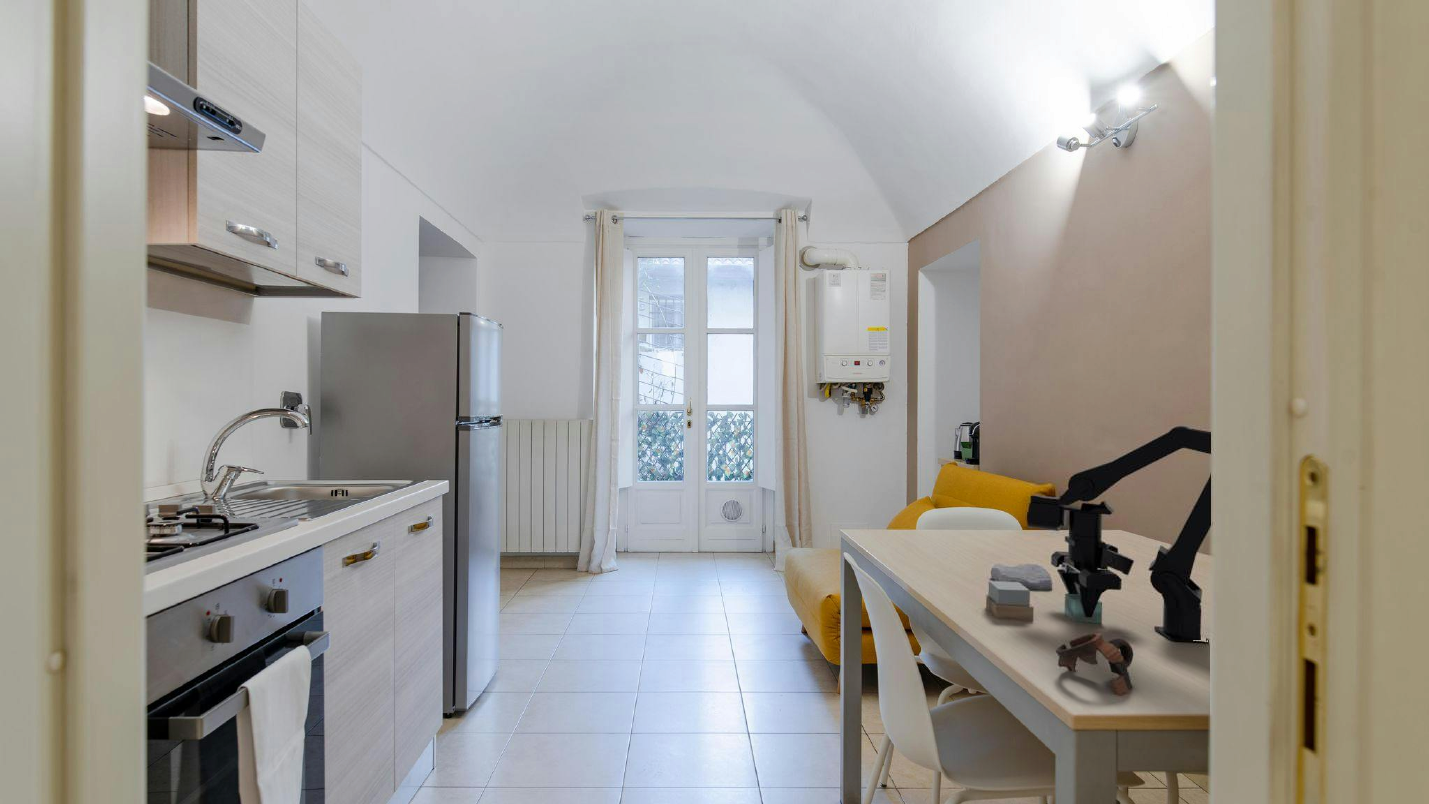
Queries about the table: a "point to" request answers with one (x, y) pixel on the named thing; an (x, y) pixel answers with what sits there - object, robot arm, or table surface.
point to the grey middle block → (1009, 593)
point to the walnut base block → (1009, 610)
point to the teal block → (1081, 610)
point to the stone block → (1023, 575)
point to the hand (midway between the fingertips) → (1082, 612)
